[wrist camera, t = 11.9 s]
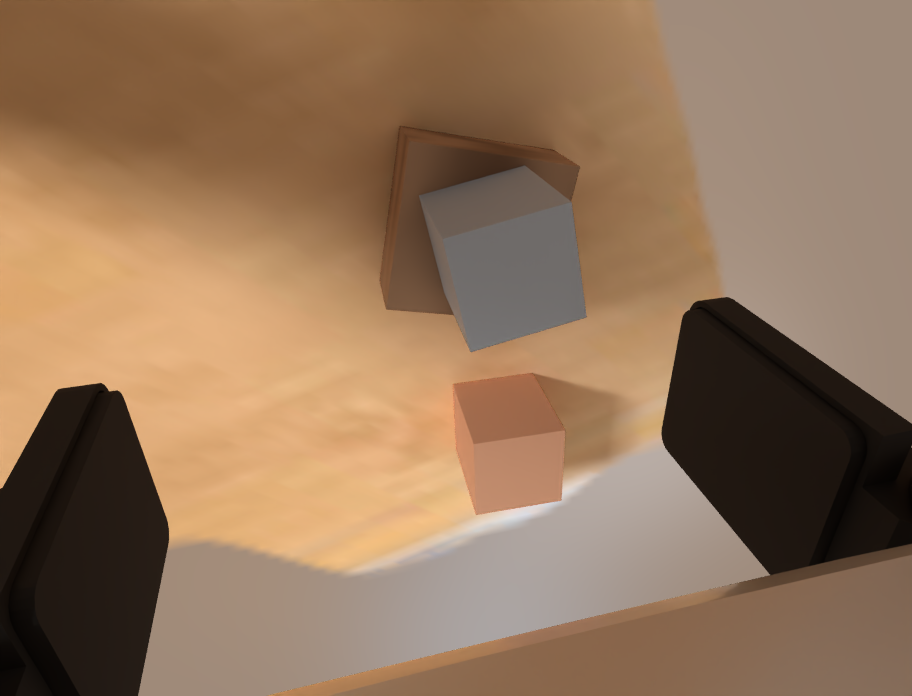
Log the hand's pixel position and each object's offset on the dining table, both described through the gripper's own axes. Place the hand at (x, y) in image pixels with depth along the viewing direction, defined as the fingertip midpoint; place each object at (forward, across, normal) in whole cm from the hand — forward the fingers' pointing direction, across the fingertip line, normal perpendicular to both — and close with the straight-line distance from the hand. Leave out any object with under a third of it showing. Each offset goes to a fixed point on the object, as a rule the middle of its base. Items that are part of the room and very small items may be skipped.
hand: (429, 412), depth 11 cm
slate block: (+19, -6, +4) cm, 20 cm away
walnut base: (+23, -6, +4) cm, 24 cm away
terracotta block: (+22, -8, +17) cm, 29 cm away
